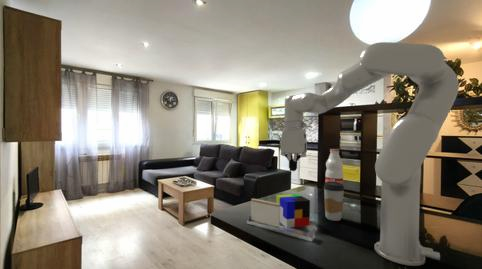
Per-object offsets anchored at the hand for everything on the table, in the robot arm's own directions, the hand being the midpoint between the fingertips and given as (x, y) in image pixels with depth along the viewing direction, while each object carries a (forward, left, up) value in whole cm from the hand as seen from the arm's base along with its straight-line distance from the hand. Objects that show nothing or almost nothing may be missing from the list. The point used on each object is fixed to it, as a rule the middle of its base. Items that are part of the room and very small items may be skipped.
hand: (292, 170), depth 94 cm
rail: (+1, +11, -21) cm, 24 cm away
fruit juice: (-6, -48, -21) cm, 53 cm away
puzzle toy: (0, 0, -21) cm, 21 cm away
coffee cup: (-13, -14, -21) cm, 29 cm away
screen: (+7, +11, -20) cm, 23 cm away
